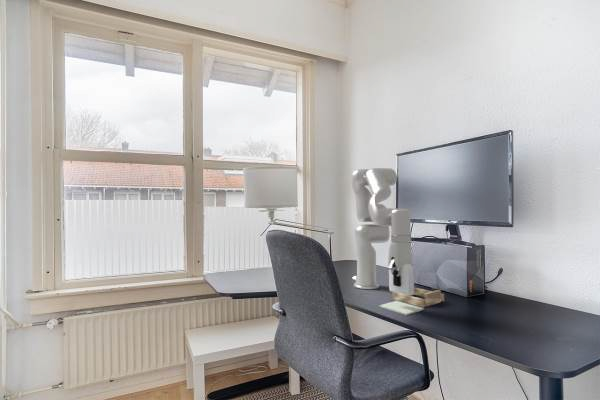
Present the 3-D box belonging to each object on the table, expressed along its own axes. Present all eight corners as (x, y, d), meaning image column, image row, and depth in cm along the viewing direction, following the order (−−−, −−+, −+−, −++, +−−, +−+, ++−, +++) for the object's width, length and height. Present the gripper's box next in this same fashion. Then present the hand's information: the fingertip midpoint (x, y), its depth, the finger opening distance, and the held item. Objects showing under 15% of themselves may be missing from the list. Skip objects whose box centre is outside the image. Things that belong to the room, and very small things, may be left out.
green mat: (379, 306, 137) (379, 305, 137) (396, 302, 143) (396, 300, 143) (406, 315, 126) (406, 313, 126) (423, 309, 133) (423, 308, 133)
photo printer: (387, 291, 137) (387, 261, 137) (393, 289, 140) (393, 260, 140) (409, 296, 129) (409, 264, 129) (415, 294, 132) (415, 263, 132)
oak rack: (392, 298, 148) (392, 287, 148) (413, 293, 157) (413, 282, 157) (423, 307, 136) (423, 295, 136) (444, 301, 145) (444, 289, 145)
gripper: (405, 237, 143) (406, 280, 143) (379, 240, 133) (379, 286, 133) (421, 239, 137) (421, 283, 137) (395, 241, 127) (395, 289, 127)
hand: (401, 284), depth 135 cm, fingers closed on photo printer, 4 cm apart
